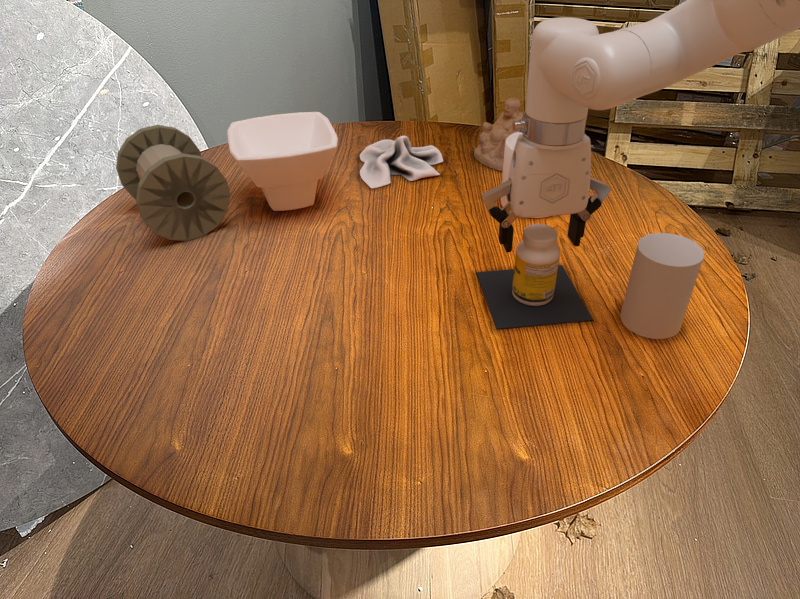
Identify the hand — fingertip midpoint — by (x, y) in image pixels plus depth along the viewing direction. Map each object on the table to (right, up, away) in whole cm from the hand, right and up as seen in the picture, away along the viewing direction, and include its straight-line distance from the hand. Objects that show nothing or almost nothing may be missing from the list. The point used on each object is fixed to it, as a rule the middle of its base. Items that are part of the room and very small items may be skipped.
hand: (539, 244), depth 87 cm
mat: (0, -7, +6) cm, 9 cm away
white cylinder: (+5, +10, +29) cm, 31 cm away
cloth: (-20, +20, +43) cm, 51 cm away
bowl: (-41, +11, +31) cm, 52 cm away
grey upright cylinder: (+16, -11, +1) cm, 19 cm away
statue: (+2, +22, +44) cm, 50 cm away
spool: (-60, +7, +27) cm, 66 cm away
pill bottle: (0, -7, +6) cm, 9 cm away
